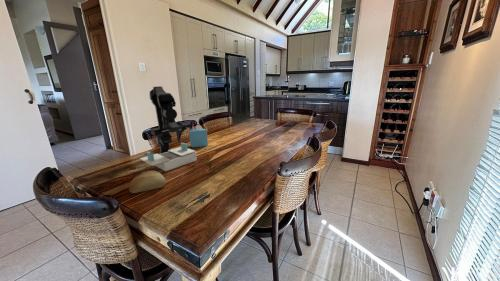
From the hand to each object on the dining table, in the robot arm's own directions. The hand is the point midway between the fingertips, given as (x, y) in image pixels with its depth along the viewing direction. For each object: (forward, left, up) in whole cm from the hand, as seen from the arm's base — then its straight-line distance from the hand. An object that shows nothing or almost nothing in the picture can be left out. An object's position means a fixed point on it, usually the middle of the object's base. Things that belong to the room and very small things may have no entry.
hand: (171, 143), depth 119 cm
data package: (-15, +29, -12) cm, 34 cm away
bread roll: (+19, -23, -12) cm, 33 cm away
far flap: (0, +6, -6) cm, 9 cm away
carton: (0, +1, -12) cm, 12 cm away
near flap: (0, -11, -6) cm, 12 cm away
